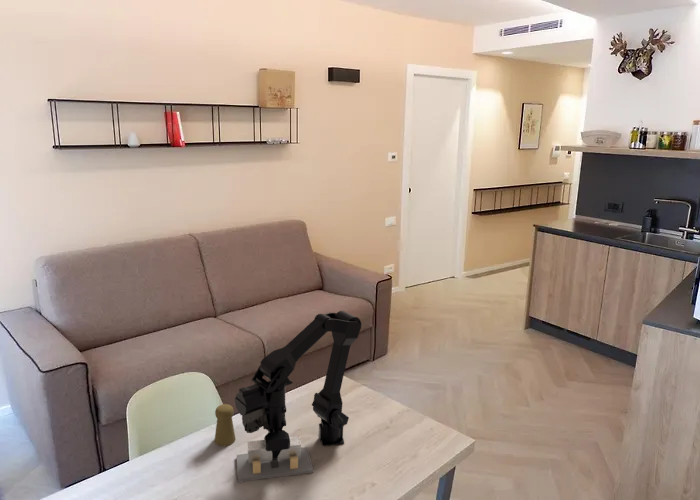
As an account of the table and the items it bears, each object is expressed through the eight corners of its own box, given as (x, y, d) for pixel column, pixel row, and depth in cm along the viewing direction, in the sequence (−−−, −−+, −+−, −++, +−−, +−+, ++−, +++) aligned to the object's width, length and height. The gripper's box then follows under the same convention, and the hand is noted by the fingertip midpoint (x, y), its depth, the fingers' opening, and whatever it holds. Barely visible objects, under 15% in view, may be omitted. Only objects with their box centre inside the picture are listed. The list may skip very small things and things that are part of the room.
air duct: (298, 448, 148) (298, 435, 147) (300, 457, 145) (300, 444, 144) (247, 454, 145) (247, 441, 144) (248, 463, 141) (248, 450, 140)
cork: (230, 447, 152) (229, 413, 149) (210, 444, 153) (209, 410, 150) (238, 435, 158) (238, 402, 155) (220, 432, 159) (219, 399, 156)
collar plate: (307, 449, 153) (307, 437, 152) (313, 472, 143) (313, 459, 142) (236, 457, 148) (236, 445, 147) (237, 481, 139) (237, 468, 138)
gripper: (242, 386, 147) (242, 435, 151) (245, 424, 130) (246, 479, 134) (282, 383, 150) (281, 431, 154) (290, 420, 133) (290, 473, 137)
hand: (274, 452), depth 145 cm, fingers closed on air duct, 4 cm apart
